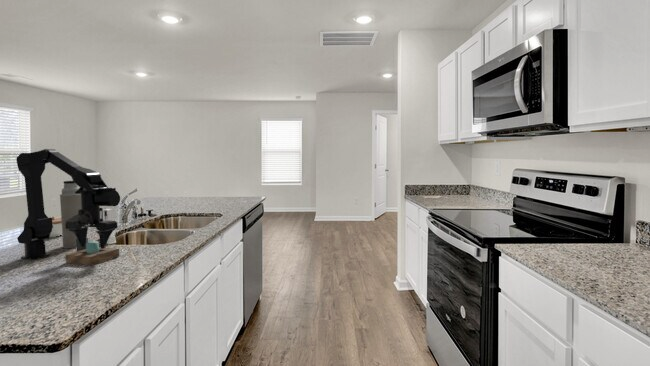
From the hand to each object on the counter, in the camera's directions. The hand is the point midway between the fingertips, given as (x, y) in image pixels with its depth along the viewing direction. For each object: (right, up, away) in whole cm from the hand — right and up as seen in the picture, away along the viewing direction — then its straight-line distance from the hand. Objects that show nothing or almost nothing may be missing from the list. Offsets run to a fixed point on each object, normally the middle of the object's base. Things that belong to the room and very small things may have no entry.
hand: (92, 247), depth 141 cm
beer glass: (-10, -3, +27) cm, 29 cm away
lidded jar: (-45, -2, +43) cm, 62 cm away
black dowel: (-10, -4, +9) cm, 14 cm away
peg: (0, -5, 0) cm, 5 cm away
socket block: (0, -5, 0) cm, 4 cm away
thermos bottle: (-22, -3, +22) cm, 31 cm away
